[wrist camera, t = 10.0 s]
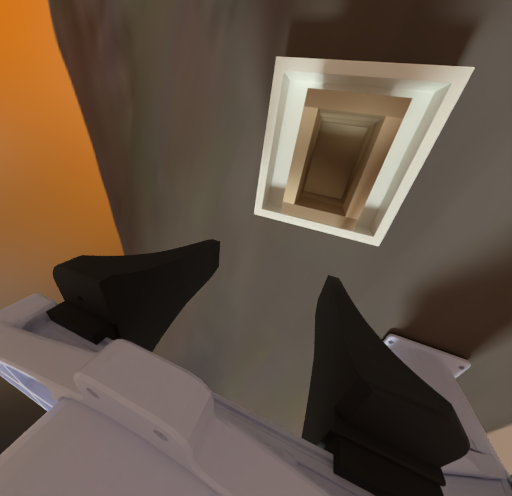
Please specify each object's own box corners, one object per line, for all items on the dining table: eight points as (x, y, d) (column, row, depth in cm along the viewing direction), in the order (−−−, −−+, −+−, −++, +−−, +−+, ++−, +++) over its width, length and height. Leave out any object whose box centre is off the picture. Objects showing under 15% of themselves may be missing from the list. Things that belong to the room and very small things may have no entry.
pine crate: (346, 208, 17) (353, 231, 12) (294, 196, 19) (280, 212, 13) (382, 117, 14) (412, 97, 9) (315, 109, 15) (307, 87, 10)
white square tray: (372, 234, 18) (378, 246, 16) (262, 207, 21) (253, 214, 18) (448, 83, 13) (475, 67, 10) (284, 71, 15) (276, 56, 13)
